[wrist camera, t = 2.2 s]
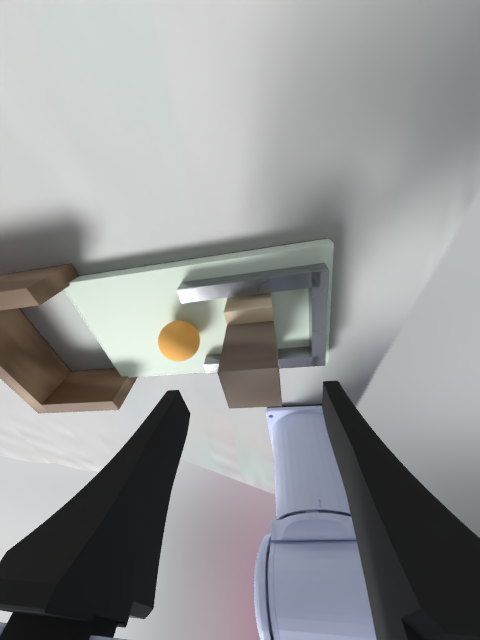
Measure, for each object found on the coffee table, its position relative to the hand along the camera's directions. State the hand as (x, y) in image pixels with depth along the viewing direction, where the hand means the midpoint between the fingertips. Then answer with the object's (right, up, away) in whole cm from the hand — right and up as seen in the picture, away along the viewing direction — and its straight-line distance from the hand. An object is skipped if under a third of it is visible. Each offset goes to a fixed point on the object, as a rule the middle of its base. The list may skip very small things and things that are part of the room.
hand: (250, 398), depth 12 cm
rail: (+1, +4, +6) cm, 7 cm away
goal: (-17, +3, +9) cm, 19 cm away
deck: (-3, +4, +7) cm, 9 cm away
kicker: (0, +4, +5) cm, 7 cm away
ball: (-5, +2, +5) cm, 8 cm away
